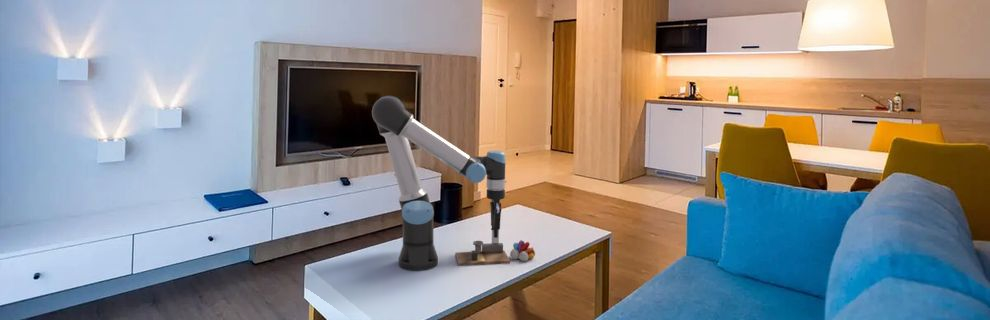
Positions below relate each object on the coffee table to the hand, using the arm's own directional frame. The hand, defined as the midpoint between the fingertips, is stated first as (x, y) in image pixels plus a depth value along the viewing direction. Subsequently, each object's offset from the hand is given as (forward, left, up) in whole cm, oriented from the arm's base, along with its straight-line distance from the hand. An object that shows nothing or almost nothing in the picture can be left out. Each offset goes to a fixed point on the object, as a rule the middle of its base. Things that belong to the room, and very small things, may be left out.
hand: (495, 244), depth 222 cm
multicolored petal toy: (+9, -12, -3) cm, 15 cm away
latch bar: (-2, -6, -1) cm, 6 cm away
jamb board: (-7, -11, -2) cm, 13 cm away
